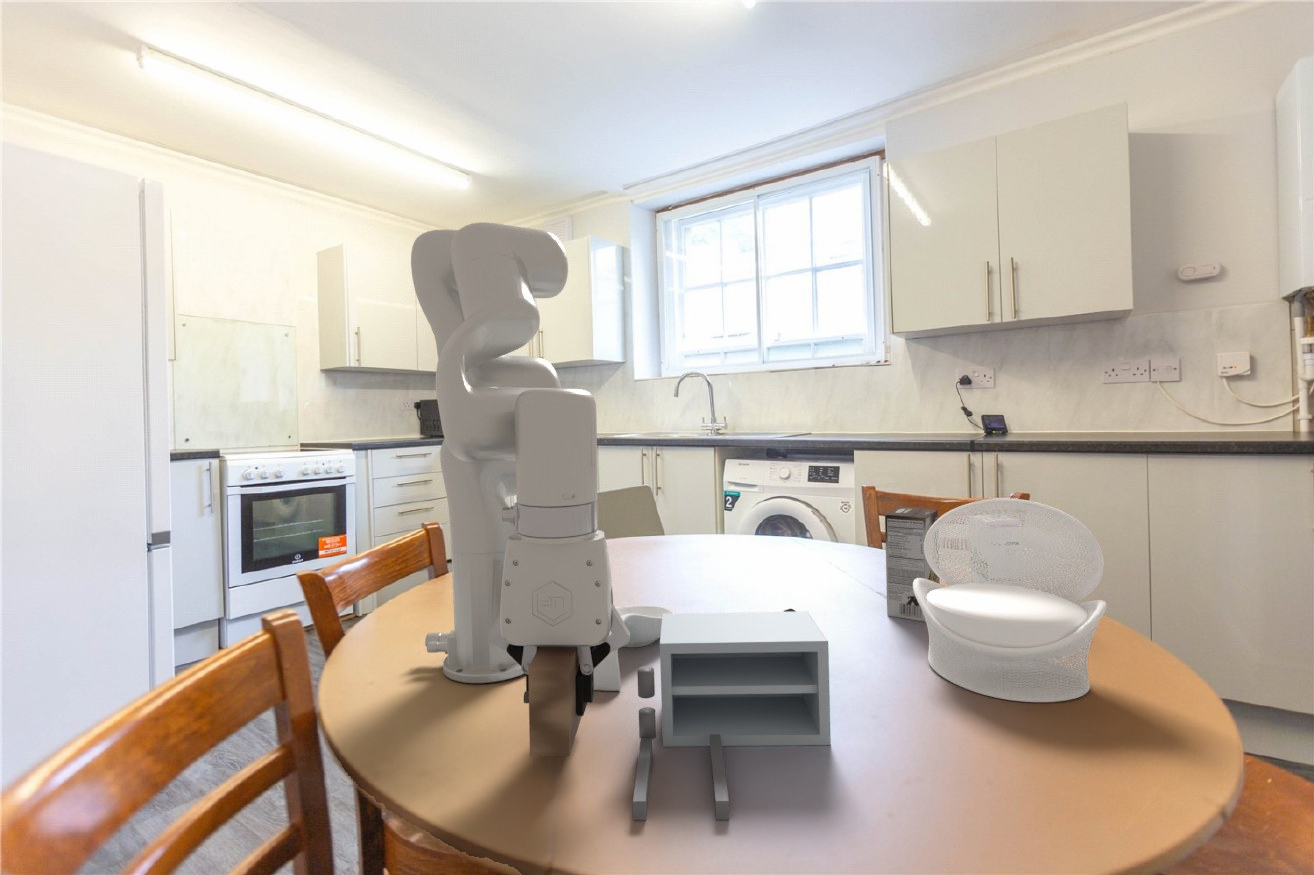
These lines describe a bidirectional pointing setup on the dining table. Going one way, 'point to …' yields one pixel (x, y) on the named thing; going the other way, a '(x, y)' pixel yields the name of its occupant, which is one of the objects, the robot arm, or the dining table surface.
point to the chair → (1011, 602)
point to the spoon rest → (630, 641)
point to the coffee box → (907, 559)
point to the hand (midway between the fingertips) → (560, 706)
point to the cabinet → (734, 689)
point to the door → (552, 701)
